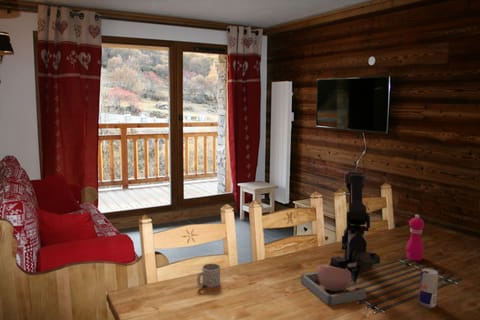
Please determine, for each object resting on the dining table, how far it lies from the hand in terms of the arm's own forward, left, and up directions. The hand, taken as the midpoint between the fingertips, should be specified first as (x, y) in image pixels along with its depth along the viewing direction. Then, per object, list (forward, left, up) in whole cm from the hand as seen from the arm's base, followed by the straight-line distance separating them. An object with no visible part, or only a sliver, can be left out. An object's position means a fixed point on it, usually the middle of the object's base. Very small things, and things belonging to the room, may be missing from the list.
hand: (354, 282), depth 154 cm
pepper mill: (-15, +43, -2) cm, 45 cm away
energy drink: (+20, +16, -2) cm, 25 cm away
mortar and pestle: (0, -9, -2) cm, 9 cm away
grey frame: (0, -9, -2) cm, 9 cm away
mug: (-19, -51, -2) cm, 55 cm away
